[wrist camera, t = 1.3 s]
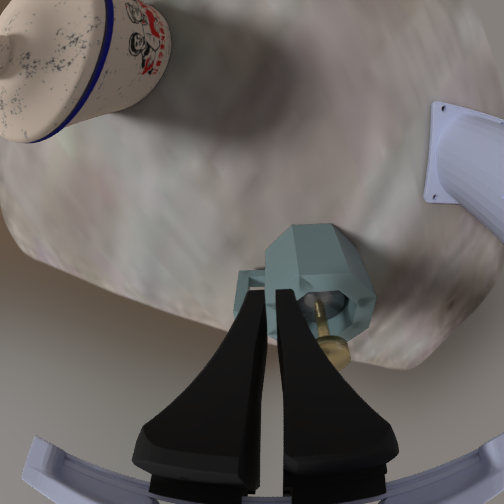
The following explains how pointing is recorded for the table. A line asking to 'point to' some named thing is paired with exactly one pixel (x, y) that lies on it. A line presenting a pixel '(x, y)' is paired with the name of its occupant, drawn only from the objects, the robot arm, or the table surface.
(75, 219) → the table surface
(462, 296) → the table surface
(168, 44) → the teacup with lid
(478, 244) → the table surface
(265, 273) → the tea press body
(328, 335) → the plunger
